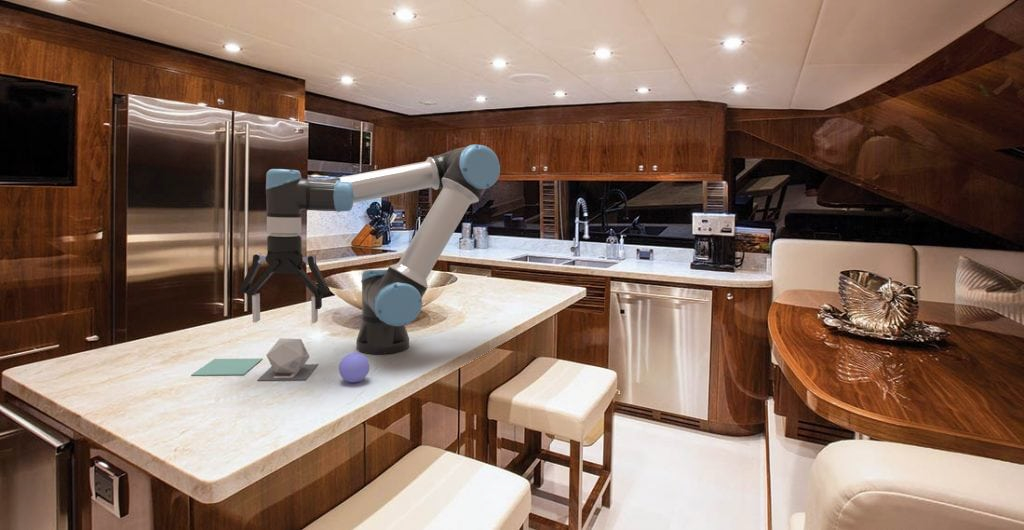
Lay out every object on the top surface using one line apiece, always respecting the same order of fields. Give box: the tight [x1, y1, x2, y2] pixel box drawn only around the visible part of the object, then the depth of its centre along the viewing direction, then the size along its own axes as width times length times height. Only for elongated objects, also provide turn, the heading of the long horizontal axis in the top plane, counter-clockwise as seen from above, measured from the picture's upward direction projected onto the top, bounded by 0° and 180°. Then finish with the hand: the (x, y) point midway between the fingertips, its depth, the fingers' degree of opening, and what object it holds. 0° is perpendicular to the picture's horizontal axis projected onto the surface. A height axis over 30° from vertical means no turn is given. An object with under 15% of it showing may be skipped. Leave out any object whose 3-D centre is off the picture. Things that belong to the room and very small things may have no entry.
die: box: [266, 337, 310, 374], centre depth 125 cm, size 8×9×10 cm
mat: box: [190, 357, 263, 377], centre depth 128 cm, size 12×12×1 cm
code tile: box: [256, 363, 318, 382], centre depth 125 cm, size 11×11×1 cm
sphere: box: [338, 352, 370, 383], centre depth 121 cm, size 7×7×7 cm
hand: (285, 321), depth 124 cm, fingers open, 13 cm apart
